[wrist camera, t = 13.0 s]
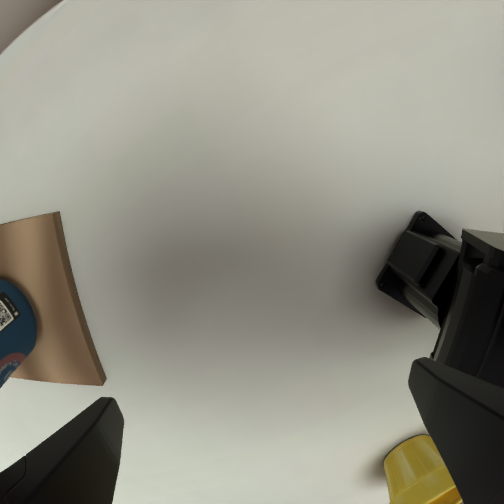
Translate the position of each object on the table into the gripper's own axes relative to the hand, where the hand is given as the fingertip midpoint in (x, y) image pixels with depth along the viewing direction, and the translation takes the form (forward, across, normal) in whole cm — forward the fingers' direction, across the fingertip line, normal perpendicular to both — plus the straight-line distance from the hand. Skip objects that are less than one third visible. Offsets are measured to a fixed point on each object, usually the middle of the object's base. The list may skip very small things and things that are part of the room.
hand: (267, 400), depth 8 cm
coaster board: (+13, +20, +2) cm, 24 cm away
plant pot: (+13, -17, +27) cm, 34 cm away
